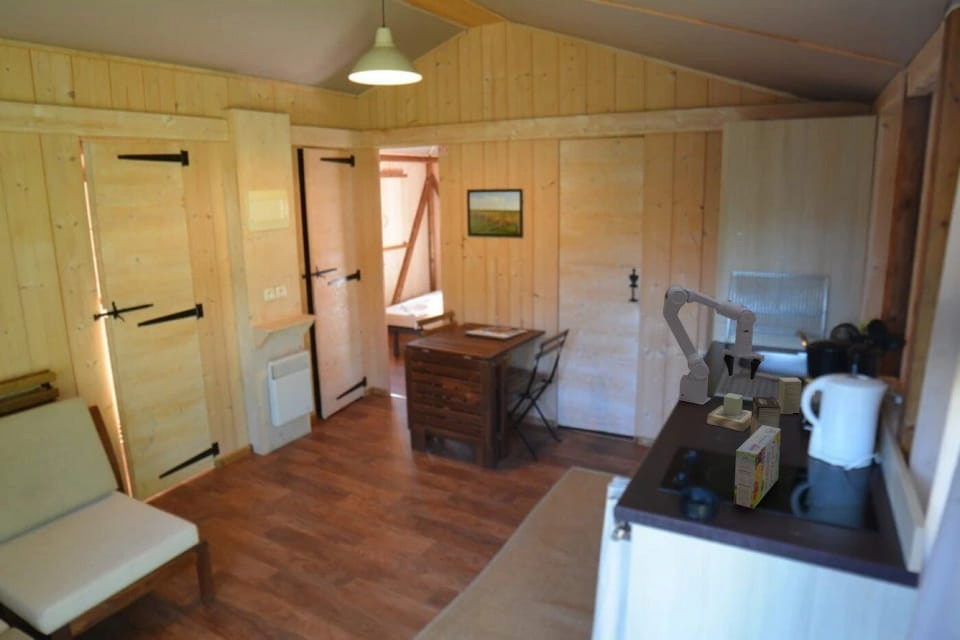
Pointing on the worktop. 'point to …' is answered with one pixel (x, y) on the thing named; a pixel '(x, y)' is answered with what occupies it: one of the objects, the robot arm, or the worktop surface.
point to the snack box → (757, 466)
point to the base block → (730, 419)
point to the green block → (732, 404)
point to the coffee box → (764, 413)
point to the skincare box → (789, 395)
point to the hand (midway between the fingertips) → (741, 377)
